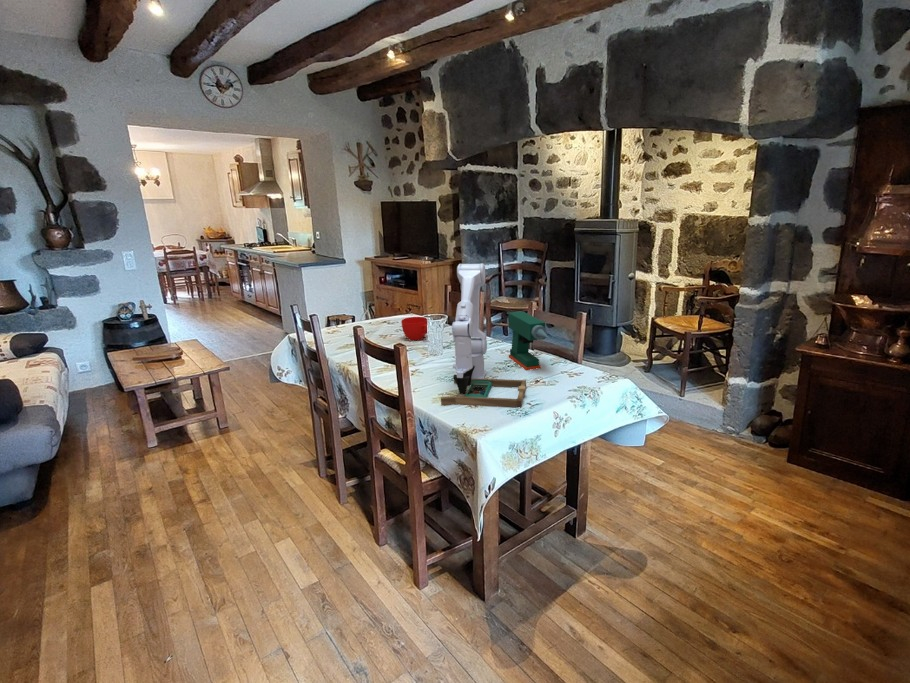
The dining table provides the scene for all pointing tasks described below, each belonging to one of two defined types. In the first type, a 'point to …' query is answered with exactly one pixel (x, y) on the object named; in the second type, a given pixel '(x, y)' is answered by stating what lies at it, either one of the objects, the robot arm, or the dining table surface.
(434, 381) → the dining table surface
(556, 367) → the dining table surface
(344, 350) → the dining table surface
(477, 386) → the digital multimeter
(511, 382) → the pocket
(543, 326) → the power tool
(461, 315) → the robot arm
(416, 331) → the ceramic cup
